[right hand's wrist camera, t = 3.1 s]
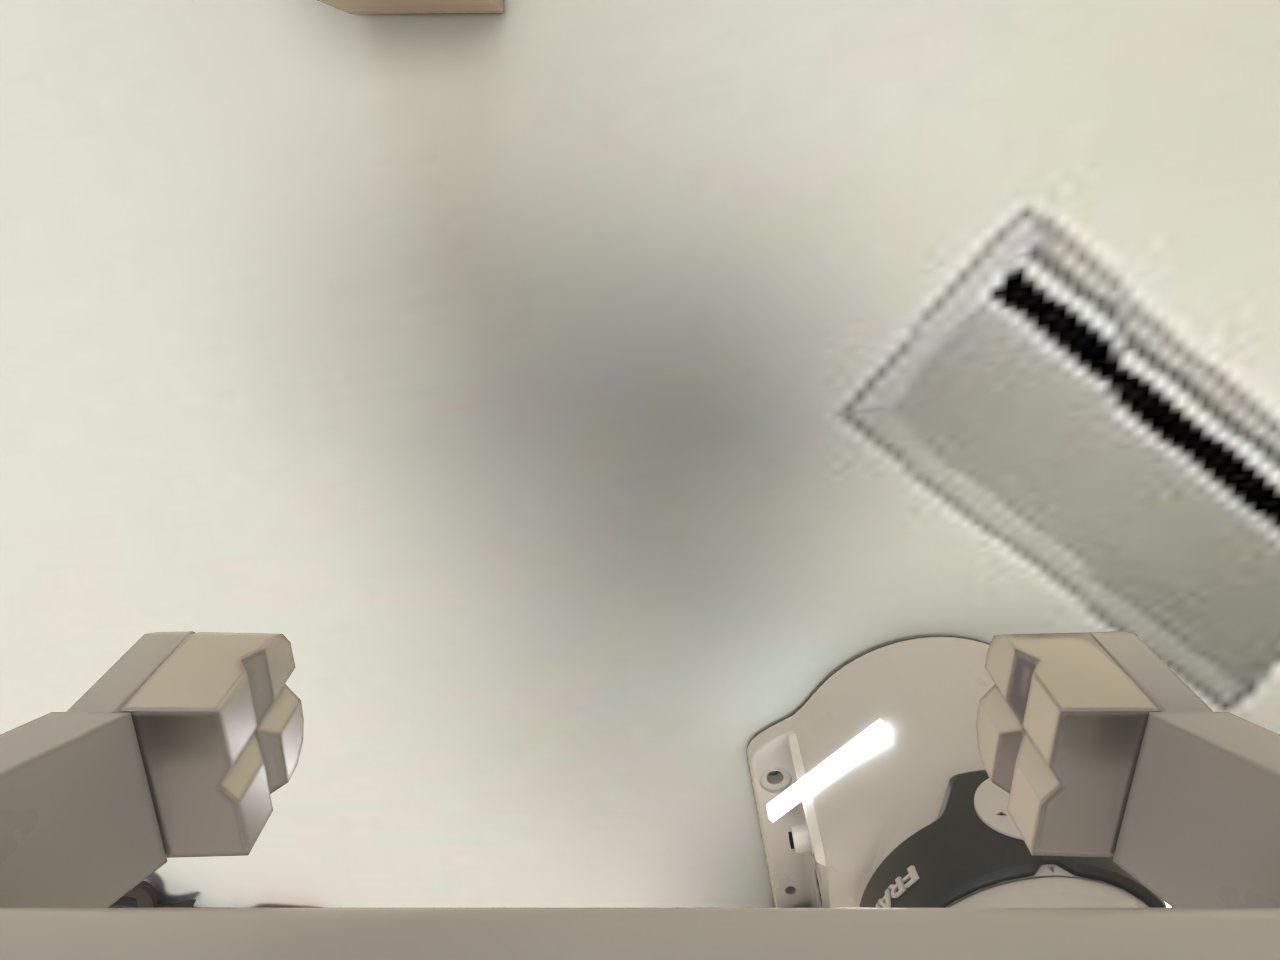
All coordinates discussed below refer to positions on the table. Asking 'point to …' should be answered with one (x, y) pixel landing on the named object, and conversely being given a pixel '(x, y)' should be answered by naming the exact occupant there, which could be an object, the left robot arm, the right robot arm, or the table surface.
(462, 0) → the box
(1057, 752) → the right robot arm
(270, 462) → the table surface
